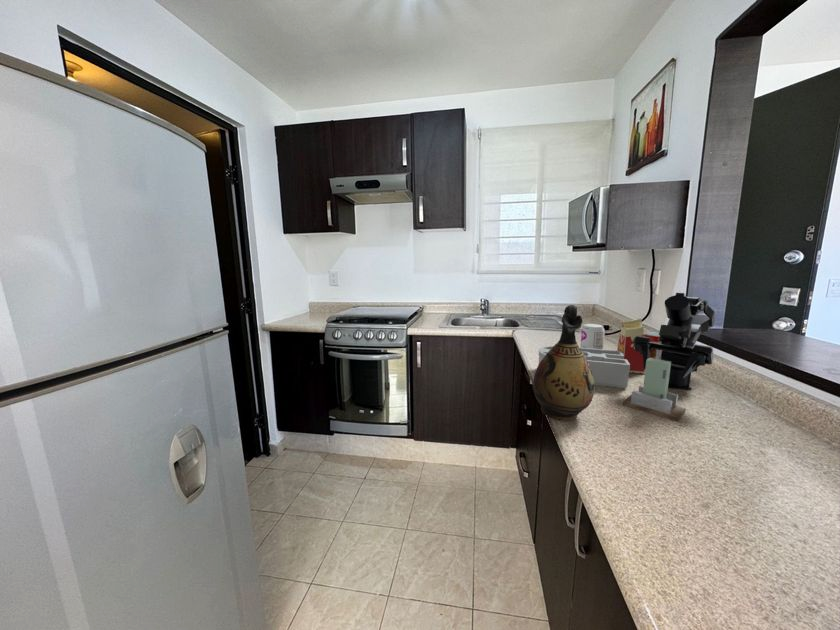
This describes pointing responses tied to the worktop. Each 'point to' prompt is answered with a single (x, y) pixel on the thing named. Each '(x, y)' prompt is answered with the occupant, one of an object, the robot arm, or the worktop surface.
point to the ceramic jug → (564, 374)
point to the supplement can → (592, 336)
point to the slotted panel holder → (655, 404)
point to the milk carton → (631, 344)
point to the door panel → (656, 377)
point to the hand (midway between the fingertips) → (663, 373)
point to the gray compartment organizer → (603, 366)
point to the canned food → (654, 338)
